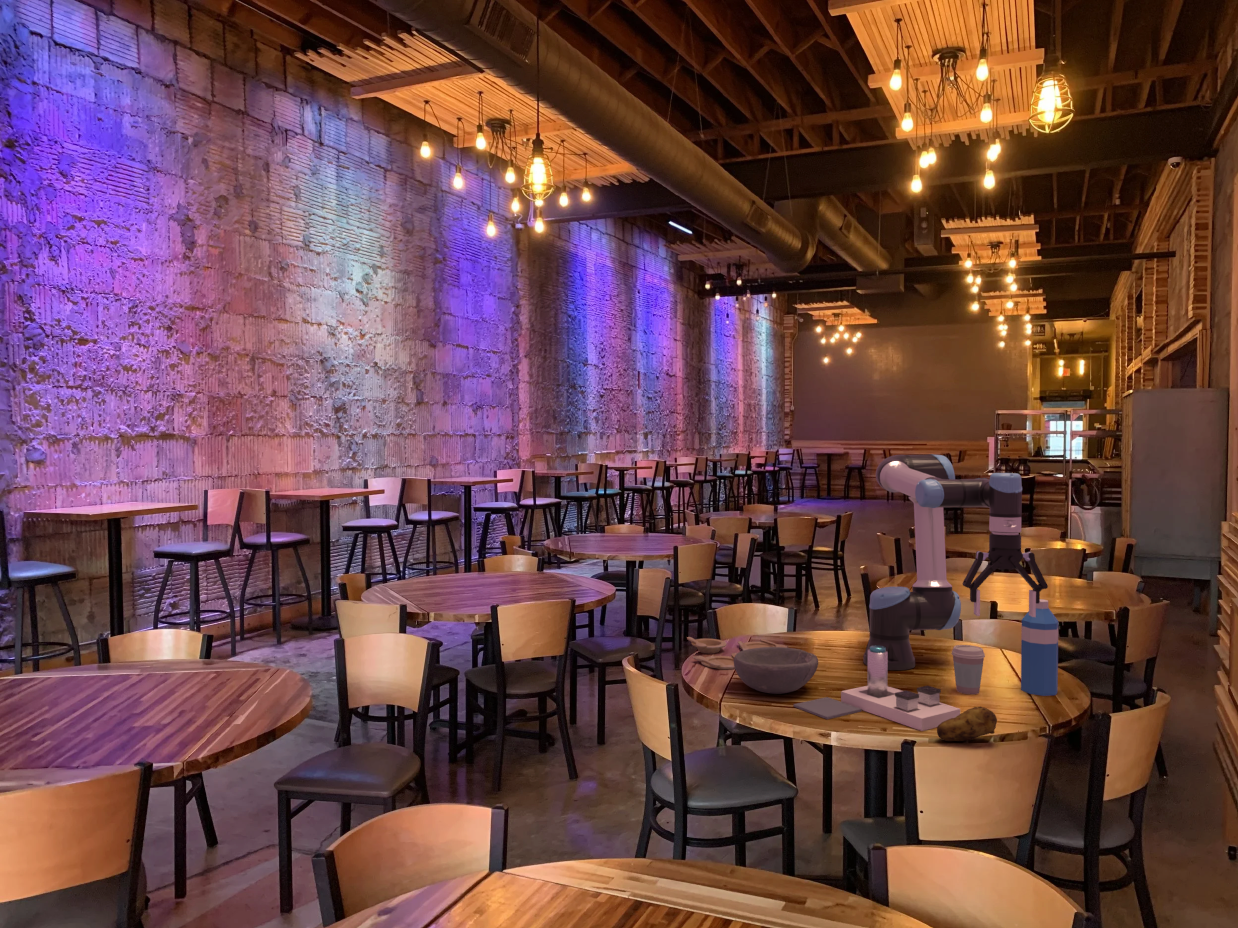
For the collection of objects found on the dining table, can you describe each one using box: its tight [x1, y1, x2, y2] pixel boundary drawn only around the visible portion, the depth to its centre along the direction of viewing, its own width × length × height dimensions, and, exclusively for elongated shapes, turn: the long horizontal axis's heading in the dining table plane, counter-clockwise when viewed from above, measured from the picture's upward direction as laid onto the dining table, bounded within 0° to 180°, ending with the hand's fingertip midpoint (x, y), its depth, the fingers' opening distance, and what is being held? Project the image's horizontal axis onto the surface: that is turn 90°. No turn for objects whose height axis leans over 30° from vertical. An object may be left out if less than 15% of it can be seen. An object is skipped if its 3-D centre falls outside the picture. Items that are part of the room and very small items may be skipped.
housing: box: [840, 685, 961, 732], centre depth 219 cm, size 26×14×3 cm, turn 31°
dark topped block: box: [916, 685, 942, 705], centre depth 216 cm, size 4×4×3 cm
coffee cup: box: [951, 644, 986, 695], centre depth 236 cm, size 8×9×12 cm
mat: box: [793, 696, 862, 720], centre depth 221 cm, size 12×12×1 cm
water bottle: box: [1020, 598, 1059, 697], centre depth 236 cm, size 9×9×25 cm
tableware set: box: [686, 636, 789, 670], centre depth 276 cm, size 35×29×4 cm
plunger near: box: [895, 690, 919, 710], centre depth 212 cm, size 4×4×3 cm
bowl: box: [734, 647, 819, 695], centre depth 238 cm, size 23×22×10 cm
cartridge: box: [866, 645, 889, 698], centre depth 225 cm, size 5×5×15 cm
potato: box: [936, 706, 998, 742], centre depth 197 cm, size 8×13×8 cm, turn 71°
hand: (1004, 615), depth 221 cm, fingers open, 13 cm apart
